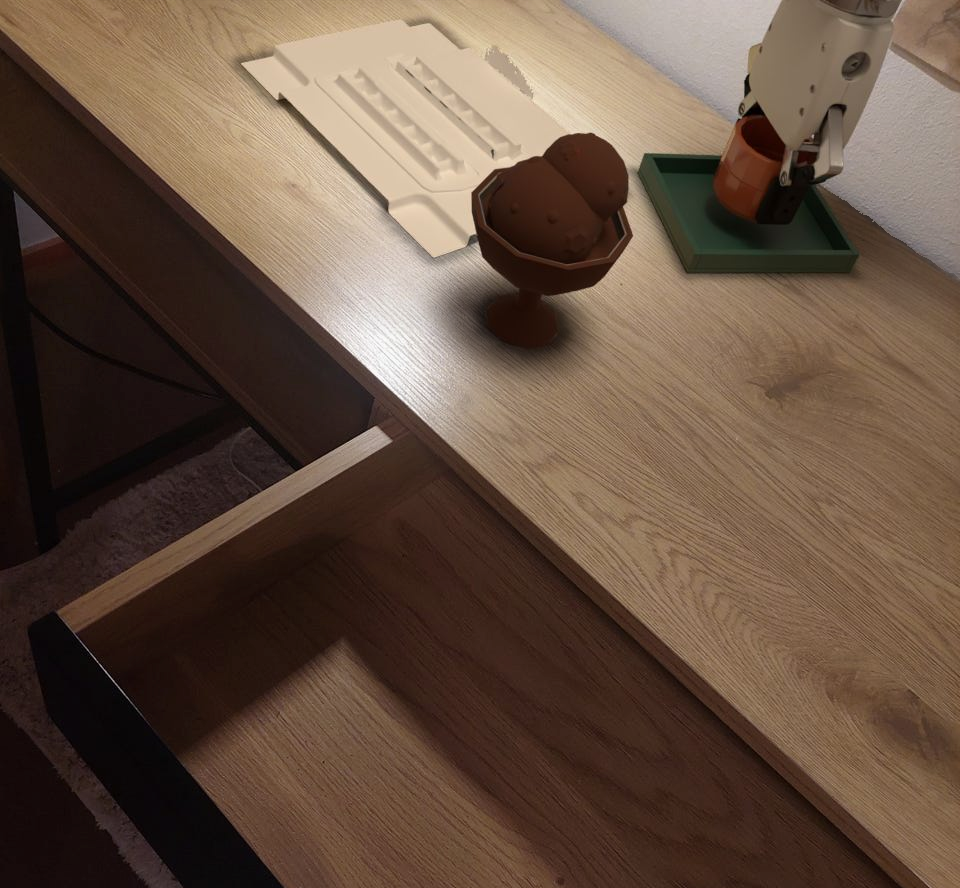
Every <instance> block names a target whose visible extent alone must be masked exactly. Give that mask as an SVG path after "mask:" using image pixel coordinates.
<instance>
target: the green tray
mask: <svg viewBox="0 0 960 888" xmlns="http://www.w3.org/2000/svg"><path fill="white" fill-rule="evenodd" d="M721 158H722V155H717V154H716V155H715V154H714V155H713V154H693V153H692V154H689V153H687V154H686V153H663V152H661V153H659V152H658V153H657V152H656V153H655V152H644V153H643V155H642V158H641V161H640V165H639V168H638V169H637V173H638V176H639V178H640V180H641V182H642V184H643V186H644V188H645V190H646V192H647V194H648V196H649V199H650V200H651V203H652V204H653V206H654V208H655V210H656V213H657V214H658V216H659V218H660V221H661V222H662V225H663V226H664V229H665V230H666V233H667V235H668V237H669V239H670V241H671V243H672V245H673V247H674V248H675V251H676V254H677V255H678V257H679V259H680V261H681V263H682V265H683V267H684V270H685V271H686V273H687V274H689V273H692V274H693V273H695V274H696V273H697V274H698V273H699V274H700V273H703V274H704V273H705V274H707V273H709V274H711V273H713V274H714V273H715V274H717V273H718V274H719V273H720V274H721V273H726V274H728V273H729V274H730V273H732V274H736V273H737V274H739V273H740V274H741V273H745V274H746V273H747V274H748V273H749V274H750V273H755V274H757V273H758V274H759V273H764V274H765V273H766V274H768V273H769V274H770V273H772V274H775V273H793V274H795V273H798V274H799V273H801V274H802V273H807V274H809V273H813V274H815V273H816V274H817V273H819V274H820V273H829V274H830V273H835V274H837V273H838V274H839V273H843V274H844V273H847V274H849V273H851V271H852V269H853V268H854V266H855V264H856V263H857V261H858V259H859V257H860V255H861V254H860V252H859V251H858V249H857V248H856V246H855V245H854V243H853V241H852V240H851V238H850V236H849V235H848V233H847V231H846V230H845V228H844V226H842V224H841V222H840V221H839V219H838V218H837V216H836V214H835V213H834V211H833V210H832V207H831V206H830V205H829V203H828V201H827V200H826V199H825V197H824V195H823V194H822V191H820V189H819V188H818V186H817V185H816V186H815V187H809V188H808V190H807V192H806V194H805V196H804V198H803V200H802V202H801V204H800V206H799V208H798V210H797V212H796V214H795V216H794V218H793V220H792V222H791V223H789V224H787V225H773V224H758V223H757V222H753V221H749V220H746V219H743V218H741V217H739V216H737V215H735V214H733V213H732V212H730V211H729V210H727V209H726V208H725V207H724V206H723V205H722V204H721V203H720V202H719V201H718V199H717V197H716V195H715V192H714V188H713V177H714V175H715V172H716V170H717V168H718V165H719V163H720V161H721Z"/></svg>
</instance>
